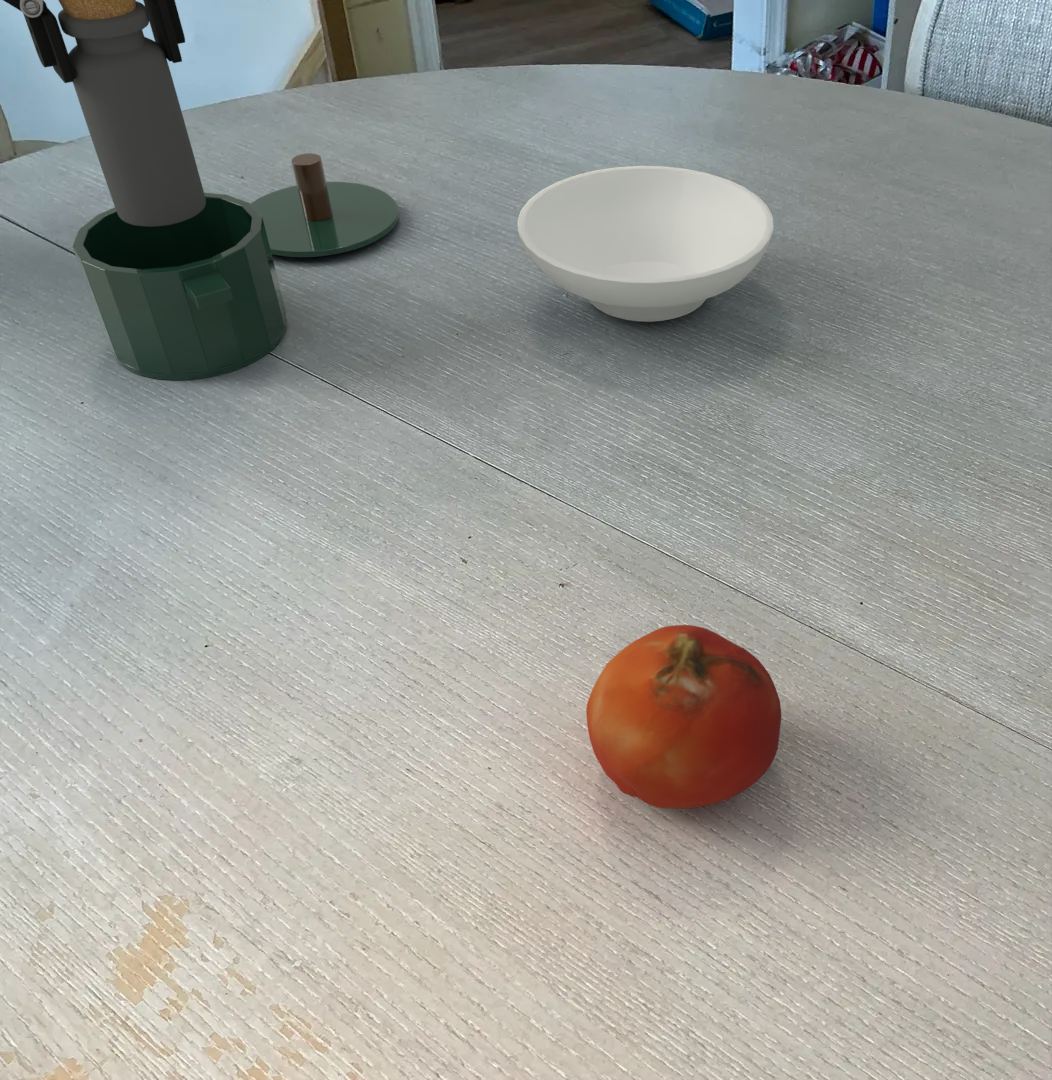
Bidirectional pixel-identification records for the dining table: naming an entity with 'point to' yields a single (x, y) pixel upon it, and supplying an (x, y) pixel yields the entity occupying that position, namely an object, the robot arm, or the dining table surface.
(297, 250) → the lid
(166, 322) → the pot
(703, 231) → the bowl
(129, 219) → the bottle
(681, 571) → the dining table surface
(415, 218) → the dining table surface
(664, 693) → the tomato
